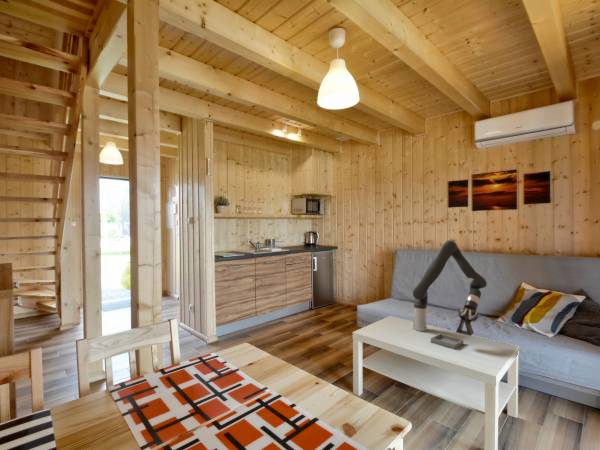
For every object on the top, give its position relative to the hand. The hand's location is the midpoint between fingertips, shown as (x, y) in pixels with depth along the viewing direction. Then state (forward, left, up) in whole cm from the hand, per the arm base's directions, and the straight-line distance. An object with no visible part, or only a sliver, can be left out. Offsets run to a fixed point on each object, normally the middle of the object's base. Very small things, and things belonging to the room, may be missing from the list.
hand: (464, 324), depth 205 cm
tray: (-11, -1, -15) cm, 19 cm away
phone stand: (0, 0, -6) cm, 6 cm away
